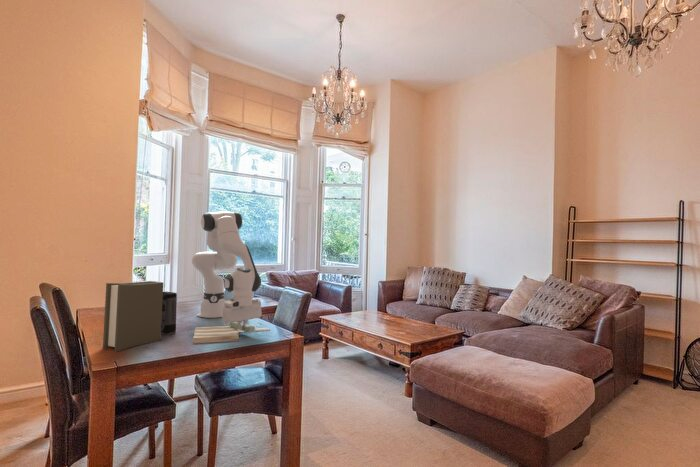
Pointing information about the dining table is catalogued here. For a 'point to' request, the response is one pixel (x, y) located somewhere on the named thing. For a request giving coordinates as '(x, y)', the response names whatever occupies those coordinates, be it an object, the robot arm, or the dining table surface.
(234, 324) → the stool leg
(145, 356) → the dining table surface
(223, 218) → the robot arm
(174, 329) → the electronic device
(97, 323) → the dining table surface
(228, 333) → the wooden cutting board
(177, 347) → the dining table surface
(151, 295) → the book
